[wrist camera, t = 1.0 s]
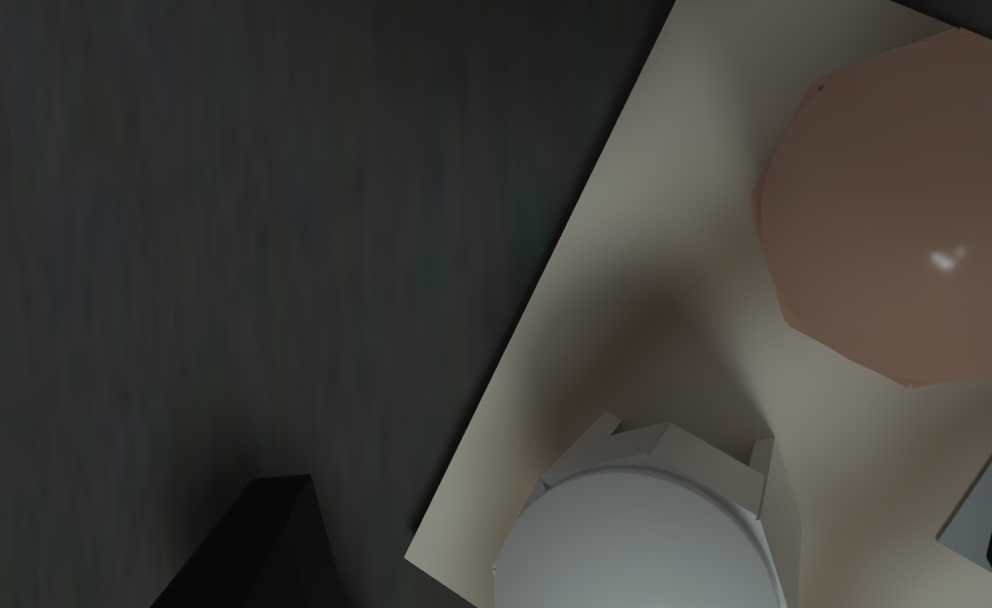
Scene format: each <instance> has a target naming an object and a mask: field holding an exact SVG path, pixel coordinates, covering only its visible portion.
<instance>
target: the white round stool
mask: <svg viewBox="0 0 992 608" xmlns="http://www.w3.org/2000/svg"><path fill="white" fill-rule="evenodd" d="M621 422H622V420H620V419H619V418H617V417H615V416H613V415H612V414H610V413H608V412H607V411H606V412H605V413H604V414H603V415H602V416H601V417H600V418H599V419H598V420H597V421H596V422H595V423H594V424H593V425H592V426H591V427H590V428H589V429H588V430H587V431H586V432H585V433H584V434H583V435H582V436H581V437H580V438H579V439H578V440H577V441H576V442H575V443H574V444H573V445H572V446H571V447H570V448H569V449H568V450H567V451H566V452H565V453H564V454H563V455H562V456H561V457H560V458H559V459H558V460H557V461H556V462H555V463H554V464H553V465H552V466H551V467H550V468H549V469H548V470H547V471H546V472H545V473H544V474H543V475H542V476H541V477H540V478H539V479H538V481H537V483H536V485H535V486H534V488H533V490H532V492H531V494H530V496H529V498H528V500H527V502H526V504H525V506H524V507H523V509H522V511H521V513H520V515H519V517H518V519H517V521H516V522H515V524H514V526H513V527H512V529H511V531H510V532H509V534H508V535H507V538H506V540H505V542H504V544H503V547H502V549H501V551H500V553H499V555H498V557H497V559H496V561H495V563H494V565H493V568H494V569H493V570H492V571H493V574H494V577H495V581H494V602H495V608H798V589H799V570H800V551H801V531H802V521H801V518H800V514H799V511H798V508H797V505H796V502H795V499H794V495H793V492H792V489H791V486H790V483H789V479H788V476H787V473H786V470H785V467H784V464H783V460H782V457H781V454H780V451H779V448H778V444H777V441H776V438H775V437H772V438H767V439H763V440H758V441H755V444H754V448H753V451H752V455H751V459H750V463H749V467H748V466H746V465H745V464H743V463H741V462H739V461H738V460H736V459H734V458H733V457H731V456H729V455H727V454H726V453H724V452H722V451H720V450H719V449H717V448H715V447H713V446H712V445H710V444H708V443H706V442H705V441H703V440H701V439H699V438H698V437H696V436H694V435H692V434H691V433H689V432H687V431H685V430H684V429H682V428H680V427H678V426H677V425H675V424H673V423H670V425H669V424H668V422H665V423H660V424H656V425H652V426H648V427H644V428H639V429H635V430H631V431H627V432H623V433H619V434H615V433H616V432H617V430H618V428H619V426H620V424H621Z"/></svg>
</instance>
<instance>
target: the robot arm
mask: <svg viewBox="0 0 992 608" xmlns="http://www.w3.org/2000/svg"><path fill="white" fill-rule="evenodd" d="M986 557H987V560H988V562H989V564H990V566H991V568H992V532H991V537H990V541H989V545H988V549H987V554H986ZM150 608H347V607H346V604H345V600H344V596H343V592H342V589H341V585H340V581H339V578H338V574H337V570H336V567H335V563H334V559H333V556H332V552H331V548H330V545H329V541H328V537H327V533H326V530H325V526H324V522H323V519H322V515H321V511H320V508H319V504H318V500H317V497H316V493H315V489H314V486H313V482H312V478H311V474H306V475H296V476H285V477H274V478H264V479H253V480H252V481H251V482H250V483H249V484H248V485H247V487H246V488H245V489H244V490H243V491H242V493H241V494H240V495H239V496H238V498H237V499H236V500H235V501H234V502H233V504H232V505H231V506H230V507H229V509H228V510H227V511H226V512H225V514H224V515H223V516H222V517H221V519H220V520H219V521H218V523H217V524H216V525H215V526H214V528H213V529H212V530H211V531H210V533H209V534H208V535H207V537H206V538H205V539H204V540H203V542H202V543H201V544H200V545H199V547H198V548H197V549H196V551H195V552H194V553H193V554H192V556H191V557H190V558H189V559H188V561H187V562H186V563H185V564H184V566H183V567H182V568H181V569H180V571H179V572H178V573H177V574H176V576H175V577H174V578H173V580H172V581H171V582H170V583H169V585H168V586H167V587H166V588H165V590H164V591H163V592H162V593H161V594H160V596H159V597H158V598H157V599H156V600H155V602H154V603H153V604H152V605H151V606H150Z"/></svg>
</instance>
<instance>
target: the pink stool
mask: <svg viewBox="0 0 992 608" xmlns="http://www.w3.org/2000/svg"><path fill="white" fill-rule="evenodd" d="M748 199H749V200H751V201H753V202H750V203H748V206H749V209H750V213H751V216H752V219H753V222H754V225H755V229H756V232H757V235H758V238H759V241H760V244H761V248H762V251H763V254H764V257H765V260H766V264H767V267H768V270H769V273H770V276H771V280H772V283H773V286H774V289H775V292H776V295H777V299H778V302H779V305H780V308H781V311H782V315H783V318H784V321H785V322H788V326H789V327H791V328H793V329H795V330H797V331H799V332H801V333H803V334H805V335H807V336H808V337H810V338H812V339H814V340H816V341H818V342H820V343H822V344H824V345H826V346H828V347H829V348H830V349H832V350H834V351H835V352H837V353H839V354H840V355H842V356H844V357H845V358H847V359H849V360H850V361H853V362H855V363H857V364H859V365H862V366H864V367H866V368H868V369H871V370H874V371H875V372H877V373H879V374H881V375H883V376H885V377H887V378H889V379H891V380H893V381H895V382H897V383H898V384H900V385H902V386H904V387H906V388H909V386H910V385H911V387H912V389H915V388H919V387H924V386H928V385H932V384H937V383H941V382H953V381H967V380H973V379H979V378H985V377H990V376H992V40H991V39H989V38H986V37H984V36H981V35H979V34H976V33H974V32H971V31H969V30H966V29H964V28H960V29H959V31H958V32H957V29H956V28H953V29H950V30H948V31H945V32H942V33H939V34H937V35H934V36H931V37H928V38H926V39H923V40H920V41H917V42H915V43H912V44H909V45H906V46H902V47H899V48H896V49H892V50H889V51H886V52H884V53H882V54H879V55H877V56H875V57H872V58H870V59H868V60H865V61H863V62H860V63H857V64H854V65H852V66H849V67H846V68H843V69H841V70H838V71H835V72H832V73H830V74H827V75H824V76H821V77H819V78H816V79H815V83H814V82H811V84H810V86H809V88H808V90H807V91H806V93H805V95H804V97H803V99H802V101H801V103H800V104H799V106H798V108H797V110H796V112H795V114H794V115H793V117H792V119H791V121H790V123H789V125H788V126H787V128H786V130H785V132H784V134H783V136H782V137H781V139H780V141H779V143H778V145H777V147H776V148H775V150H774V152H773V154H772V156H771V158H770V160H769V161H768V163H767V165H766V167H765V169H764V171H763V172H762V174H761V176H760V178H759V180H758V182H757V183H756V185H755V187H754V189H753V191H752V193H751V194H750V196H749V198H748Z"/></svg>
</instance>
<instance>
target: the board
mask: <svg viewBox="0 0 992 608" xmlns="http://www.w3.org/2000/svg"><path fill="white" fill-rule="evenodd" d="M953 28H956V27H954V26H951V25H949V24H947V23H944V22H942V21H939V20H937V19H934V18H932V17H929V16H927V15H924V14H922V13H920V12H917V11H915V10H912V9H910V8H907V7H905V6H902V5H900V4H897V3H895V2H892V1H890V0H676V2H675V4H674V6H673V8H672V10H671V12H670V14H669V16H668V18H667V20H666V22H665V24H664V26H663V28H662V30H661V32H660V34H659V36H658V39H657V41H656V43H655V45H654V47H653V49H652V51H651V53H650V55H649V57H648V59H647V61H646V63H645V65H644V67H643V69H642V71H641V73H640V75H639V77H638V80H637V82H636V84H635V86H634V88H633V90H632V92H631V94H630V96H629V98H628V100H627V102H626V104H625V106H624V108H623V110H622V112H621V114H620V116H619V118H618V120H617V123H616V125H615V127H614V129H613V131H612V133H611V135H610V137H609V139H608V141H607V143H606V145H605V147H604V149H603V151H602V153H601V155H600V157H599V159H598V161H597V164H596V166H595V168H594V170H593V172H592V174H591V176H590V178H589V180H588V182H587V184H586V186H585V188H584V190H583V192H582V194H581V196H580V198H579V200H578V202H577V204H576V207H575V209H574V211H573V213H572V215H571V217H570V219H569V221H568V223H567V225H566V227H565V229H564V231H563V233H562V235H561V237H560V239H559V241H558V243H557V245H556V248H555V250H554V252H553V254H552V256H551V258H550V260H549V262H548V264H547V266H546V268H545V270H544V272H543V274H542V276H541V278H540V280H539V282H538V284H537V286H536V288H535V291H534V293H533V295H532V297H531V299H530V301H529V303H528V305H527V307H526V309H525V311H524V313H523V315H522V317H521V319H520V321H519V323H518V325H517V327H516V329H515V332H514V334H513V336H512V338H511V340H510V342H509V344H508V346H507V348H506V350H505V352H504V354H503V356H502V358H501V360H500V362H499V364H498V366H497V368H496V370H495V372H494V375H493V377H492V379H491V381H490V383H489V385H488V387H487V389H486V391H485V393H484V395H483V397H482V399H481V401H480V403H479V405H478V407H477V409H476V411H475V413H474V416H473V418H472V420H471V422H470V424H469V426H468V428H467V430H466V432H465V434H464V436H463V438H462V440H461V442H460V444H459V446H458V448H457V450H456V452H455V454H454V456H453V459H452V461H451V463H450V465H449V467H448V469H447V471H446V473H445V475H444V477H443V479H442V481H441V483H440V485H439V487H438V489H437V491H436V493H435V495H434V497H433V500H432V502H431V504H430V506H429V508H428V510H427V512H426V514H425V516H424V518H423V520H422V522H421V524H420V526H419V528H418V530H417V532H416V534H415V536H414V538H413V540H412V543H411V545H410V547H409V549H408V551H407V553H406V555H405V557H404V558H405V559H407V560H408V561H410V562H411V563H413V564H414V565H416V566H417V567H419V568H420V569H422V570H423V571H425V572H426V573H427V574H429V575H430V576H432V577H433V578H435V579H436V580H438V581H439V582H441V583H442V584H444V585H445V586H447V587H448V588H450V589H451V590H453V591H454V592H456V593H457V594H459V595H460V596H461V597H463V598H464V599H466V600H467V601H469V602H470V603H472V604H473V605H475V606H476V607H478V608H495V602H494V581H495V577H494V574H493V571H492V570H493V569H494V568H493V565H494V563H495V561H496V559H497V557H498V555H499V553H500V551H501V549H502V547H503V544H504V542H505V540H506V538H507V535H508V534H509V532H510V531H511V529H512V527H513V526H514V524H515V522H516V521H517V519H518V517H519V515H520V513H521V511H522V509H523V507H524V506H525V504H526V502H527V500H528V498H529V496H530V494H531V492H532V490H533V488H534V486H535V485H536V483H537V481H538V479H539V478H540V477H541V476H542V475H543V474H544V473H545V472H546V471H547V470H548V469H549V468H550V467H551V466H552V465H553V464H554V463H555V462H556V461H557V460H558V459H559V458H560V457H561V456H562V455H563V454H564V453H565V452H566V451H567V450H568V449H569V448H570V447H571V446H572V445H573V444H574V443H575V442H576V441H577V440H578V439H579V438H580V437H581V436H582V435H583V434H584V433H585V432H586V431H587V430H588V429H589V428H590V427H591V426H592V425H593V424H594V423H595V422H596V421H597V420H598V419H599V418H600V417H601V416H602V415H603V414H604V413H605V412H606V411H607V412H608V413H610V414H612V415H613V416H615V417H617V418H619V419H620V420H622V422H621V424H620V426H619V428H618V430H617V432H616V433H615V434H619V433H623V432H627V431H631V430H635V429H639V428H644V427H648V426H652V425H656V424H660V423H665V422H668V424H669V425H670V423H673V424H675V425H677V426H678V427H680V428H682V429H684V430H685V431H687V432H689V433H691V434H692V435H694V436H696V437H698V438H699V439H701V440H703V441H705V442H706V443H708V444H710V445H712V446H713V447H715V448H717V449H719V450H720V451H722V452H724V453H726V454H727V455H729V456H731V457H733V458H734V459H736V460H738V461H739V462H741V463H743V464H745V465H746V466H748V467H749V463H750V459H751V455H752V451H753V448H754V444H755V441H758V440H763V439H767V438H772V437H775V438H776V441H777V444H778V448H779V451H780V454H781V457H782V460H783V464H784V467H785V470H786V473H787V476H788V479H789V483H790V486H791V489H792V492H793V495H794V499H795V502H796V505H797V508H798V511H799V514H800V518H801V521H802V531H801V551H800V570H799V589H798V608H992V568H991V566H990V564H989V562H988V560H987V557H986V554H987V549H988V545H989V541H990V537H991V532H992V376H990V377H985V378H979V379H973V380H967V381H953V382H941V383H937V384H932V385H928V386H924V387H919V388H915V389H912V387H911V385H910V386H909V388H906V387H904V386H902V385H900V384H898V383H897V382H895V381H893V380H891V379H889V378H887V377H885V376H883V375H881V374H879V373H877V372H875V371H874V370H871V369H868V368H866V367H864V366H862V365H859V364H857V363H855V362H853V361H850V360H849V359H847V358H845V357H844V356H842V355H840V354H839V353H837V352H835V351H834V350H832V349H830V348H829V347H828V346H826V345H824V344H822V343H820V342H818V341H816V340H814V339H812V338H810V337H808V336H807V335H805V334H803V333H801V332H799V331H797V330H795V329H793V328H791V327H789V326H788V322H785V321H784V318H783V315H782V311H781V308H780V305H779V302H778V299H777V295H776V292H775V289H774V286H773V283H772V280H771V276H770V273H769V270H768V267H767V264H766V260H765V257H764V254H763V251H762V248H761V244H760V241H759V238H758V235H757V232H756V229H755V225H754V222H753V219H752V216H751V213H750V209H749V206H748V203H750V202H753V201H751V200H749V199H748V198H749V196H750V194H751V193H752V191H753V189H754V187H755V185H756V183H757V182H758V180H759V178H760V176H761V174H762V172H763V171H764V169H765V167H766V165H767V163H768V161H769V160H770V158H771V156H772V154H773V152H774V150H775V148H776V147H777V145H778V143H779V141H780V139H781V137H782V136H783V134H784V132H785V130H786V128H787V126H788V125H789V123H790V121H791V119H792V117H793V115H794V114H795V112H796V110H797V108H798V106H799V104H800V103H801V101H802V99H803V97H804V95H805V93H806V91H807V90H808V88H809V86H810V84H811V82H814V83H815V79H816V78H819V77H821V76H824V75H827V74H830V73H832V72H835V71H838V70H841V69H843V68H846V67H849V66H852V65H854V64H857V63H860V62H863V61H865V60H868V59H870V58H872V57H875V56H877V55H879V54H882V53H884V52H886V51H889V50H892V49H896V48H899V47H902V46H906V45H909V44H912V43H915V42H917V41H920V40H923V39H926V38H928V37H931V36H934V35H937V34H939V33H942V32H945V31H948V30H950V29H953ZM956 29H957V32H958V31H959V28H956Z"/></svg>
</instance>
